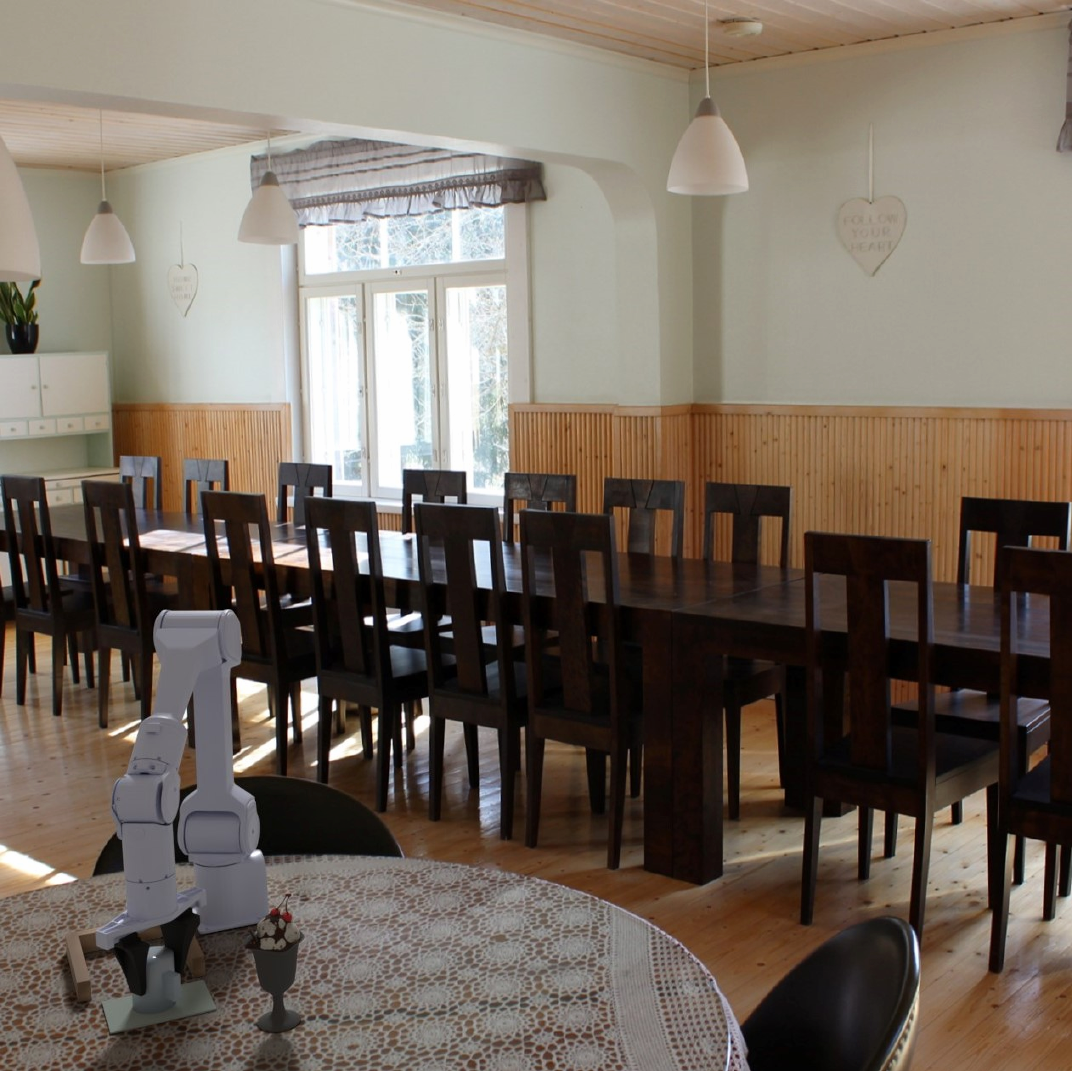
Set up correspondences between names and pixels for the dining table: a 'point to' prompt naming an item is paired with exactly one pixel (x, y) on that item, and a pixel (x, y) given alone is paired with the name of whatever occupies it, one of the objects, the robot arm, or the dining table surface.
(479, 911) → the dining table surface
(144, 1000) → the grey rounded cylinder
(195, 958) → the wooden frame
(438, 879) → the dining table surface
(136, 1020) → the mat
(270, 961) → the sundae
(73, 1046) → the dining table surface
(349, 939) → the dining table surface
